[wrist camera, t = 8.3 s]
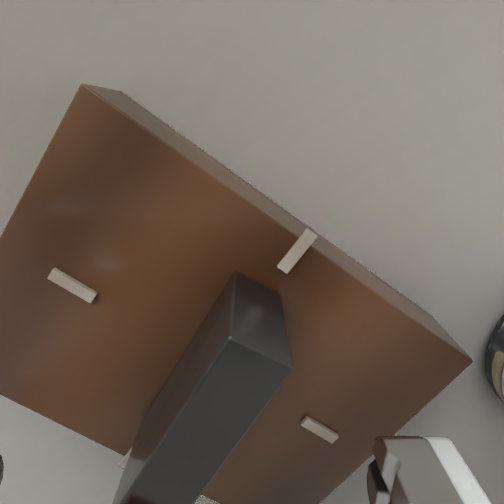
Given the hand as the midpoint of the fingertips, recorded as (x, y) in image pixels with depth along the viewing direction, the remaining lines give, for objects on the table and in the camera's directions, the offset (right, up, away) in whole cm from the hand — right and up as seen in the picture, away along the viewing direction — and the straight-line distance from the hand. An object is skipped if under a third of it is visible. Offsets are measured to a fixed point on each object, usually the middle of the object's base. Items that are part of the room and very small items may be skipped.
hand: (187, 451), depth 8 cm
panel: (0, +2, +7) cm, 7 cm away
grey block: (0, +1, +4) cm, 4 cm away
